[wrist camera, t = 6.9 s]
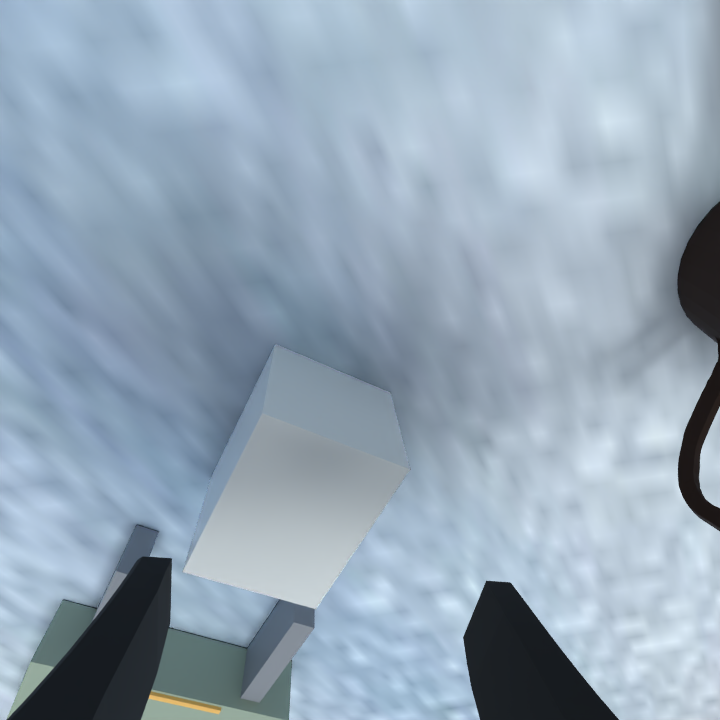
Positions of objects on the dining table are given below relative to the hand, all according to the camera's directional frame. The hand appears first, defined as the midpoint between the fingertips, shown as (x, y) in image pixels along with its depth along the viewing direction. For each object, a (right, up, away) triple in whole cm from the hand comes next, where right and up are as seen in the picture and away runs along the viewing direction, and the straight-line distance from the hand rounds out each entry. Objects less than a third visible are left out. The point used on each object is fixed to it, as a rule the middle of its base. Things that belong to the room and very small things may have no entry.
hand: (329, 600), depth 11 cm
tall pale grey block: (-2, +2, +9) cm, 10 cm away
